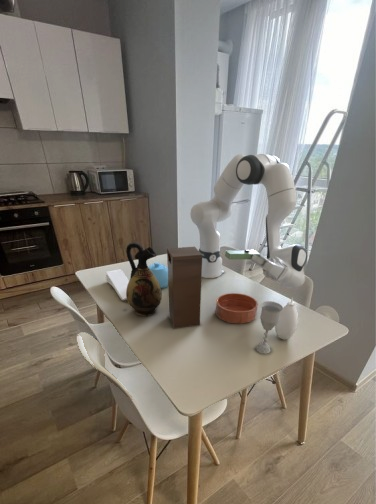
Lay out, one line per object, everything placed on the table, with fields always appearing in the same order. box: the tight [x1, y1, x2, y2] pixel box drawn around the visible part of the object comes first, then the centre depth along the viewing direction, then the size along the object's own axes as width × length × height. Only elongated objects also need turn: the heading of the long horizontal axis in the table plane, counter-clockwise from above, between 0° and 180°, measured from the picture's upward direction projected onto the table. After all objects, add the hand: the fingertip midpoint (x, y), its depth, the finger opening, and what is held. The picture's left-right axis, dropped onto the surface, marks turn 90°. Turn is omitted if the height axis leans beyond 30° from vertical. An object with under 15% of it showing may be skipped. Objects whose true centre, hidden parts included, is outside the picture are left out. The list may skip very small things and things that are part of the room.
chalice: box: [256, 300, 284, 355], centre depth 101 cm, size 7×7×18 cm
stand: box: [166, 246, 203, 329], centre depth 114 cm, size 10×11×30 cm
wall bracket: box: [105, 268, 130, 301], centre depth 147 cm, size 10×7×28 cm
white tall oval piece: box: [274, 296, 299, 340], centre depth 107 cm, size 8×8×18 cm
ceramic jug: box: [125, 241, 163, 317], centre depth 121 cm, size 17×15×30 cm
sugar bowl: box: [148, 262, 168, 290], centre depth 150 cm, size 15×15×12 cm
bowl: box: [215, 292, 259, 324], centre depth 126 cm, size 18×18×6 cm
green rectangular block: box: [224, 249, 262, 260], centre depth 112 cm, size 4×13×3 cm, turn 105°
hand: (249, 253), depth 113 cm, fingers closed on green rectangular block, 4 cm apart
